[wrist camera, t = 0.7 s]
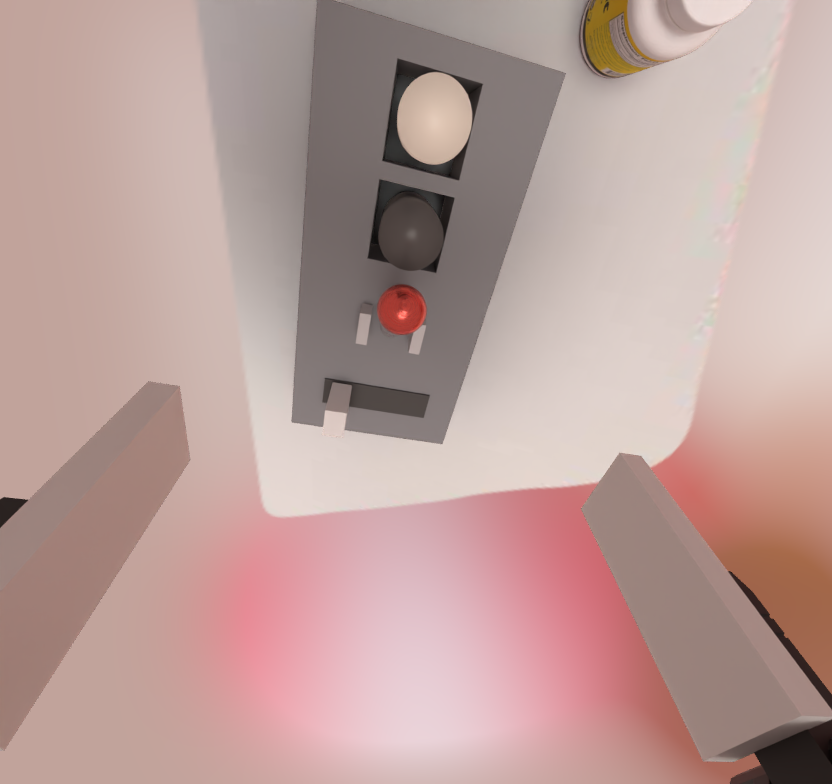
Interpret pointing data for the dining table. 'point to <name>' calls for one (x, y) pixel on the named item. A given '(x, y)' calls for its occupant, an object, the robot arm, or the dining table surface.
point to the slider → (337, 410)
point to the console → (356, 210)
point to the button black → (410, 232)
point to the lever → (401, 310)
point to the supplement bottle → (649, 31)
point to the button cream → (434, 118)
